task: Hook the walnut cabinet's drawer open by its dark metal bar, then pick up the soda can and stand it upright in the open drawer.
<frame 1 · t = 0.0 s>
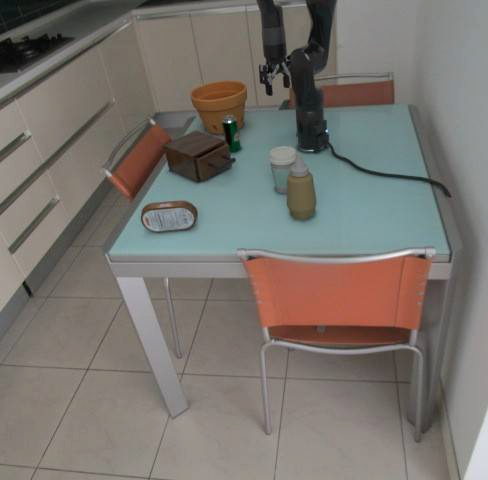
hand: (278, 91, 157), 17 cm above the table, tool pointing down, fingers open, 8 cm apart
tin: (172, 230, 127), on the table
coffee cup: (285, 189, 139), on the table
flower pot: (224, 127, 181), on the table
squeeze bottle: (302, 215, 127), on the table
soda can: (233, 150, 164), on the table
cabinet: (199, 168, 155), on the table
drawer: (207, 159, 149), point 5 cm above the table, slide at 1.0 cm
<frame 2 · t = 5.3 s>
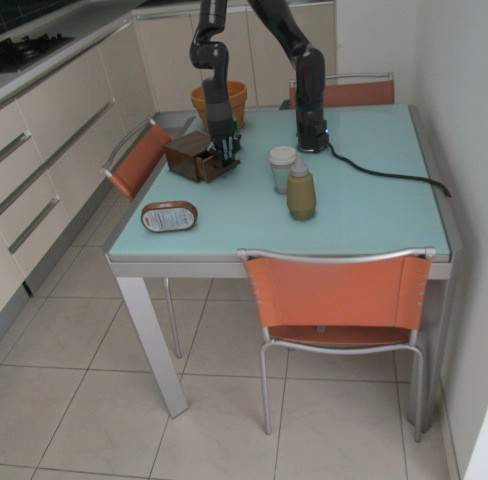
hand: (228, 168, 144), 4 cm above the table, tool pointing down, fingers closed
drawer: (212, 161, 147), point 5 cm above the table, slide at 3.3 cm, touching gripper
everything else where it was.
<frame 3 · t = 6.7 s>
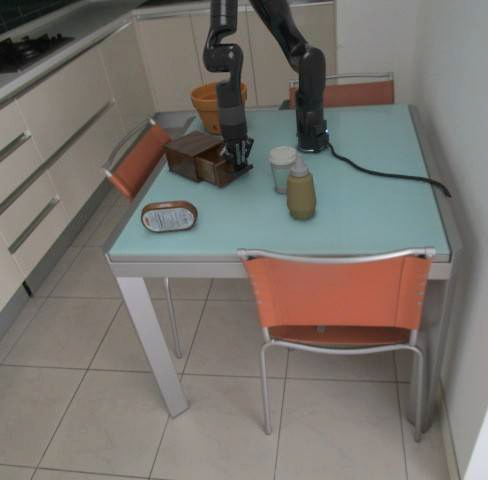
hand: (240, 173, 141), 4 cm above the table, tool pointing down, fingers closed
drawer: (224, 165, 144), point 5 cm above the table, slide at 8.8 cm, touching gripper
everything else where it was.
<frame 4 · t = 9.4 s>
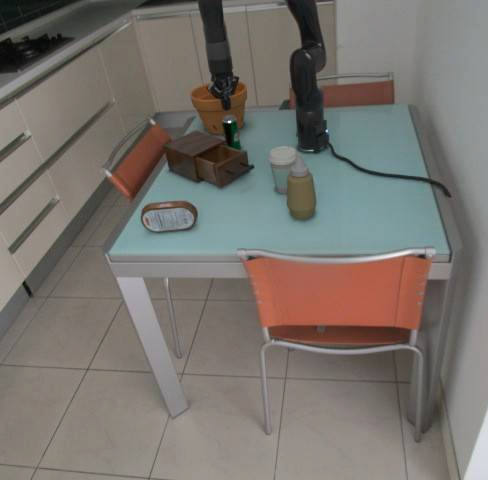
hand: (227, 109, 154), 15 cm above the table, tool pointing down, fingers closed
drawer: (225, 166, 144), point 5 cm above the table, slide at 9.2 cm
everything else where it was.
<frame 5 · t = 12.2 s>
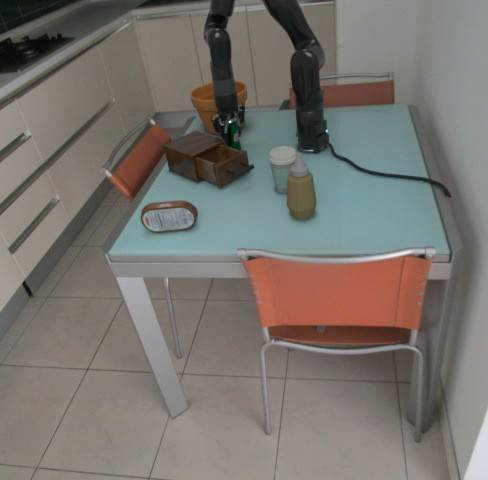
hand: (232, 139, 161), 4 cm above the table, tool pointing down, fingers closed on soda can, 5 cm apart
soda can: (233, 150, 164), on the table, touching gripper
everything else where it was.
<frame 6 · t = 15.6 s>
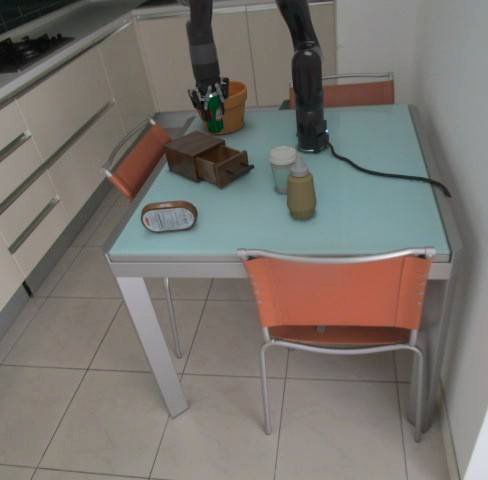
hand: (214, 117, 138), 19 cm above the table, tool pointing down, fingers closed on soda can, 5 cm apart
soda can: (216, 130, 141), point 15 cm above the table, touching gripper
everything else where it was.
when the fingers open (6 cm above the table, at t = 19.5 s): soda can stays where it is, resting on drawer.
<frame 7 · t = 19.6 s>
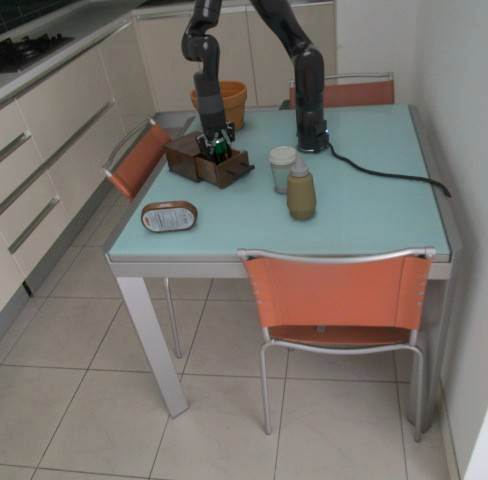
hand: (220, 160, 144), 6 cm above the table, tool pointing down, fingers open, 6 cm apart
soda can: (222, 172, 147), point 2 cm above the table, touching drawer
drawer: (225, 166, 144), point 5 cm above the table, slide at 9.5 cm, touching gripper, soda can
everything else where it was.
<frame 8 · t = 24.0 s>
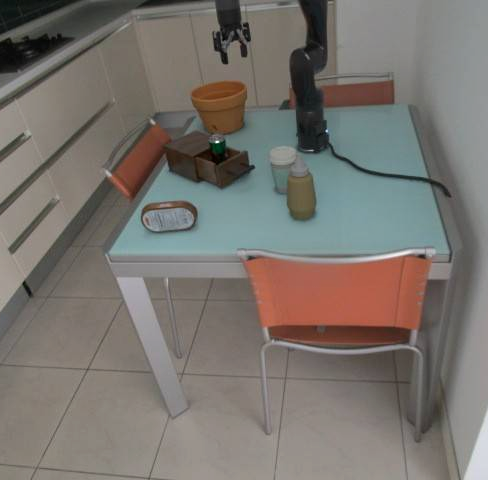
hand: (235, 60, 153), 28 cm above the table, tool pointing down, fingers open, 8 cm apart
drawer: (225, 166, 144), point 5 cm above the table, slide at 9.5 cm, touching soda can
everything else where it was.
at the end: drawer slide at 9.5 cm; soda can inside the target area in the drawer (0.2 cm from its centre), point 1.9 cm above the cabinet's base; soda can tilted 0° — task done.
